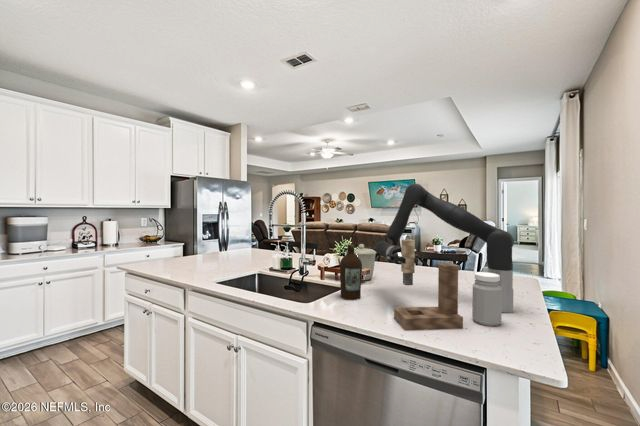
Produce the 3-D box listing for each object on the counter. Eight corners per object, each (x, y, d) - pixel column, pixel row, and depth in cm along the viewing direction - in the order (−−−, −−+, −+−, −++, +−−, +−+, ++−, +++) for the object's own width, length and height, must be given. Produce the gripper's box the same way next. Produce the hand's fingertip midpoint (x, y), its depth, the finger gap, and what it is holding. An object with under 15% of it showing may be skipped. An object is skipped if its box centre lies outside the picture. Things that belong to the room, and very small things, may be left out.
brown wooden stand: (447, 316, 121) (447, 261, 121) (464, 328, 109) (464, 267, 109) (394, 318, 119) (394, 262, 119) (405, 330, 108) (405, 268, 107)
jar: (475, 315, 123) (475, 270, 122) (503, 321, 116) (504, 273, 116) (468, 322, 115) (469, 274, 115) (498, 329, 109) (499, 278, 109)
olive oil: (337, 294, 152) (337, 243, 152) (358, 293, 154) (358, 243, 154) (342, 300, 142) (342, 246, 142) (364, 299, 143) (364, 246, 143)
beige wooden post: (410, 283, 127) (410, 239, 127) (414, 285, 123) (414, 240, 123) (401, 283, 127) (401, 239, 127) (404, 285, 123) (404, 240, 123)
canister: (340, 277, 191) (341, 243, 191) (365, 274, 199) (365, 242, 199) (356, 283, 175) (356, 246, 175) (382, 280, 183) (382, 245, 182)
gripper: (380, 246, 139) (393, 251, 121) (411, 246, 140) (428, 251, 123) (380, 263, 139) (392, 270, 122) (411, 262, 140) (427, 270, 123)
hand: (410, 260), depth 122 cm, fingers closed on beige wooden post, 4 cm apart
